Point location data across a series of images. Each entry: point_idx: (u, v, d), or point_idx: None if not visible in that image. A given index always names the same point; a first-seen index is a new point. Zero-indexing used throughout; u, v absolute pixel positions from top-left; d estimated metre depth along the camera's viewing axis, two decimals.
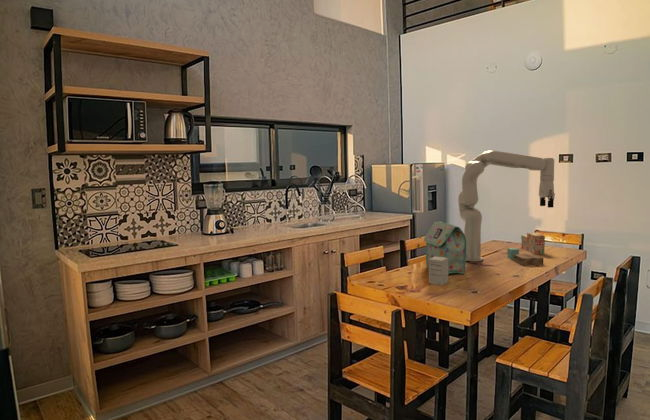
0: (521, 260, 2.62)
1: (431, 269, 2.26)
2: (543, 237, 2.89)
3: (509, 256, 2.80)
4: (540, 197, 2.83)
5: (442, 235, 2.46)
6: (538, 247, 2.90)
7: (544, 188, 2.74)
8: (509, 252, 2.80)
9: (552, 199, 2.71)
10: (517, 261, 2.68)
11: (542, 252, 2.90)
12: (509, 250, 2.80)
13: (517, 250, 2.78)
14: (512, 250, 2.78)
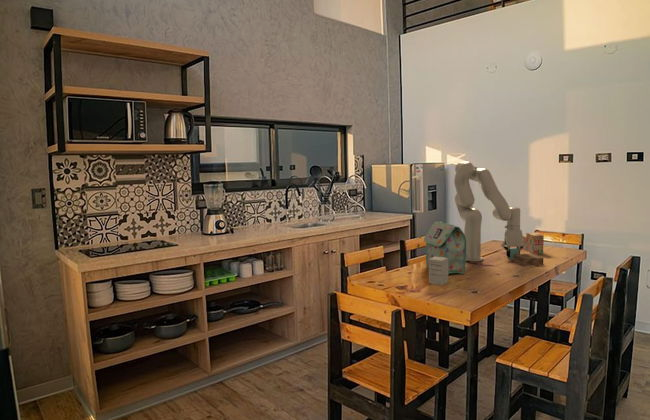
0: (521, 260, 2.62)
1: (431, 269, 2.26)
2: (542, 237, 2.90)
3: None
4: (508, 248, 2.79)
5: (442, 235, 2.46)
6: (537, 247, 2.91)
7: (519, 237, 2.77)
8: None
9: None
10: (517, 261, 2.68)
11: (541, 252, 2.91)
12: (509, 250, 2.80)
13: (517, 250, 2.78)
14: (512, 250, 2.78)
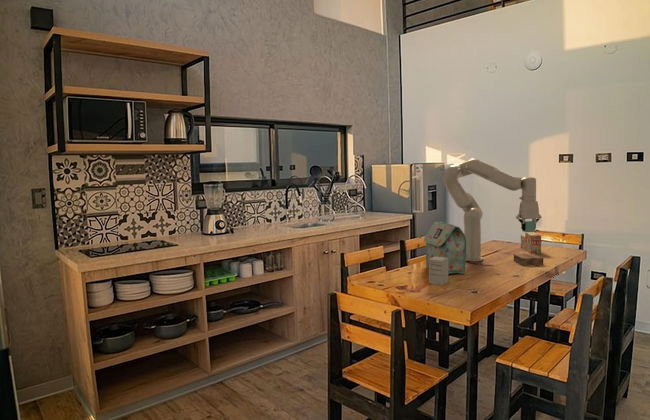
0: (521, 260, 2.62)
1: (431, 269, 2.26)
2: (540, 237, 2.90)
3: None
4: (523, 221, 2.64)
5: (442, 235, 2.45)
6: (534, 247, 2.91)
7: (535, 209, 2.62)
8: None
9: None
10: (517, 261, 2.68)
11: (539, 252, 2.92)
12: None
13: (533, 222, 2.63)
14: (527, 222, 2.63)
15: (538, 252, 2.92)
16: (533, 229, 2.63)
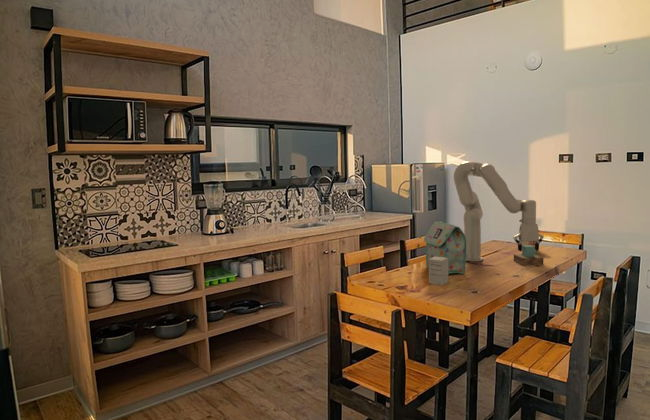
0: (521, 260, 2.62)
1: (431, 269, 2.26)
2: None
3: (524, 254, 2.66)
4: (520, 242, 2.65)
5: (442, 235, 2.46)
6: None
7: (535, 231, 2.63)
8: (524, 249, 2.66)
9: None
10: (517, 261, 2.68)
11: (536, 252, 2.92)
12: (524, 247, 2.66)
13: (532, 247, 2.64)
14: (527, 247, 2.64)
15: (535, 252, 2.92)
16: (533, 254, 2.64)
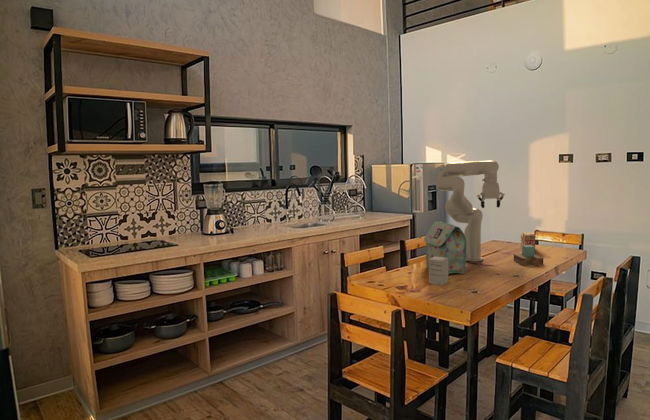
0: (521, 260, 2.62)
1: (431, 269, 2.26)
2: (533, 237, 2.92)
3: (524, 254, 2.66)
4: (483, 199, 2.90)
5: (442, 235, 2.46)
6: None
7: (496, 189, 2.88)
8: (524, 249, 2.66)
9: None
10: (517, 261, 2.68)
11: None
12: (524, 247, 2.66)
13: (532, 247, 2.64)
14: (527, 247, 2.64)
15: None
16: (533, 254, 2.64)
